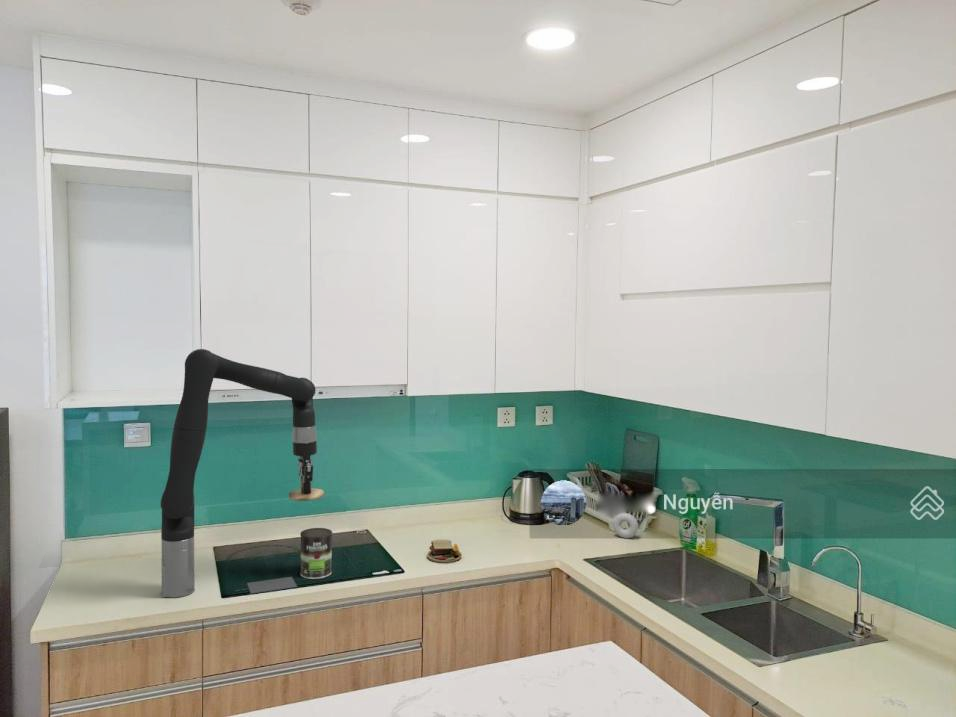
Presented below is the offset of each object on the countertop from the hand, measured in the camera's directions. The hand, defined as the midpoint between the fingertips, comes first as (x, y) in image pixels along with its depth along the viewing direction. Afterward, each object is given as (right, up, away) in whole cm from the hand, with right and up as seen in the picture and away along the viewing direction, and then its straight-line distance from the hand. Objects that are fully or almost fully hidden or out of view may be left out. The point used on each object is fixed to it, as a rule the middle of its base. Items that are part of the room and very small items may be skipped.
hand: (306, 491), depth 224 cm
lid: (0, -1, 0) cm, 1 cm away
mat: (-9, -29, -6) cm, 31 cm away
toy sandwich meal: (+43, -28, +23) cm, 57 cm away
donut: (+114, -28, +49) cm, 127 cm away
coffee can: (+2, -28, +5) cm, 29 cm away
